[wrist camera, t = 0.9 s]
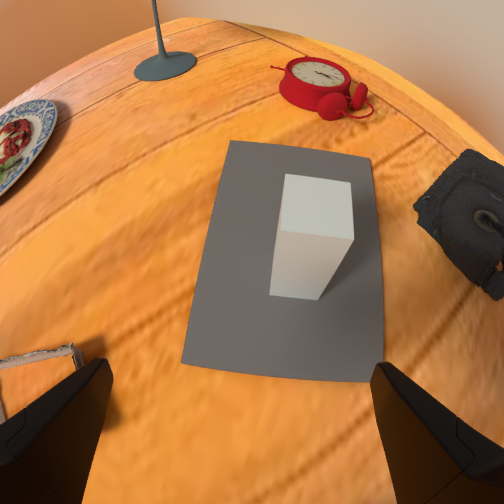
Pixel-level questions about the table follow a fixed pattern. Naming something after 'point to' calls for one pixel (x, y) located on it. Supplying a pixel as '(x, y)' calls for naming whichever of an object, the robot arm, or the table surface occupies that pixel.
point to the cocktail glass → (163, 60)
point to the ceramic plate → (23, 137)
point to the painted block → (310, 235)
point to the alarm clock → (321, 87)
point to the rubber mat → (260, 270)
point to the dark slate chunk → (469, 218)
